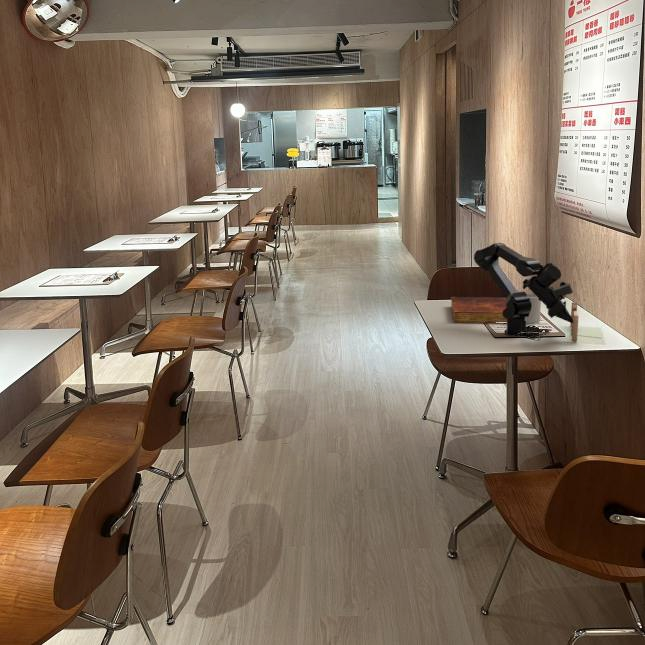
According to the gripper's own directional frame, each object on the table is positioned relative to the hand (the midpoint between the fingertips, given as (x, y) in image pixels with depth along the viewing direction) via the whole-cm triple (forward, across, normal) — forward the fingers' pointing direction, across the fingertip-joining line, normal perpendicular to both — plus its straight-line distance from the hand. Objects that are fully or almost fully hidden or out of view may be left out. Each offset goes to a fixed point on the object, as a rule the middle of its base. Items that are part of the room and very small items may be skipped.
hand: (572, 321), depth 291 cm
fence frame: (+5, +15, +4) cm, 16 cm away
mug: (-6, +28, +17) cm, 33 cm away
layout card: (+8, +10, +2) cm, 13 cm away
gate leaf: (+5, +2, +4) cm, 7 cm away
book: (-20, +35, +31) cm, 51 cm away
